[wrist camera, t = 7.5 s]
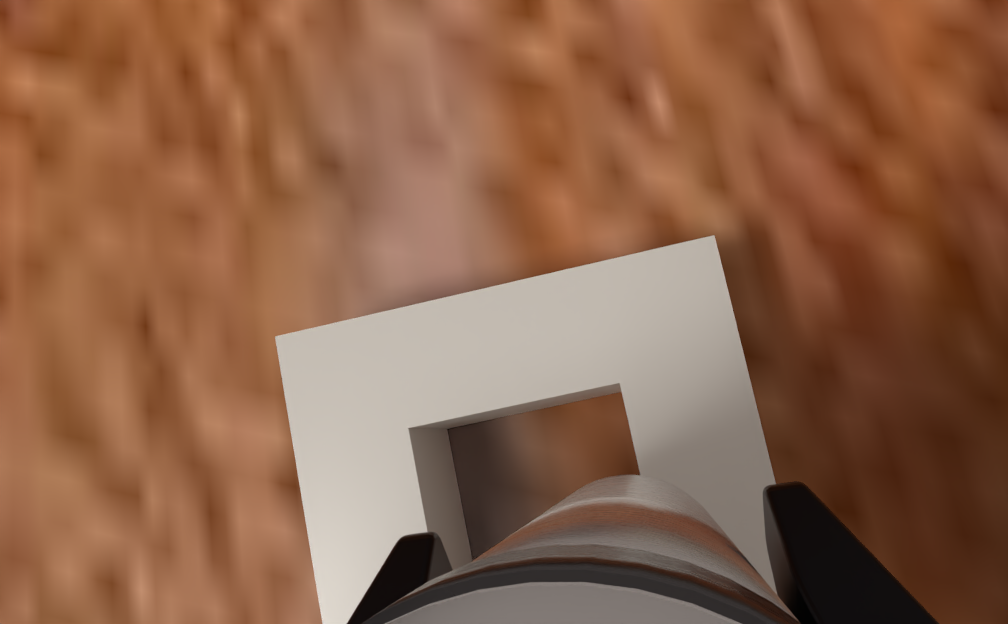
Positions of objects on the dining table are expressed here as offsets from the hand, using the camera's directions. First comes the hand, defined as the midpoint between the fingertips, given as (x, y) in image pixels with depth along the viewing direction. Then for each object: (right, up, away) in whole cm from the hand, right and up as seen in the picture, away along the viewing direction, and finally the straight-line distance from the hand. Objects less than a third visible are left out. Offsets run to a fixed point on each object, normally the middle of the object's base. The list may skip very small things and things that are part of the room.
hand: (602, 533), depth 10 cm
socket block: (0, -2, +13) cm, 14 cm away
